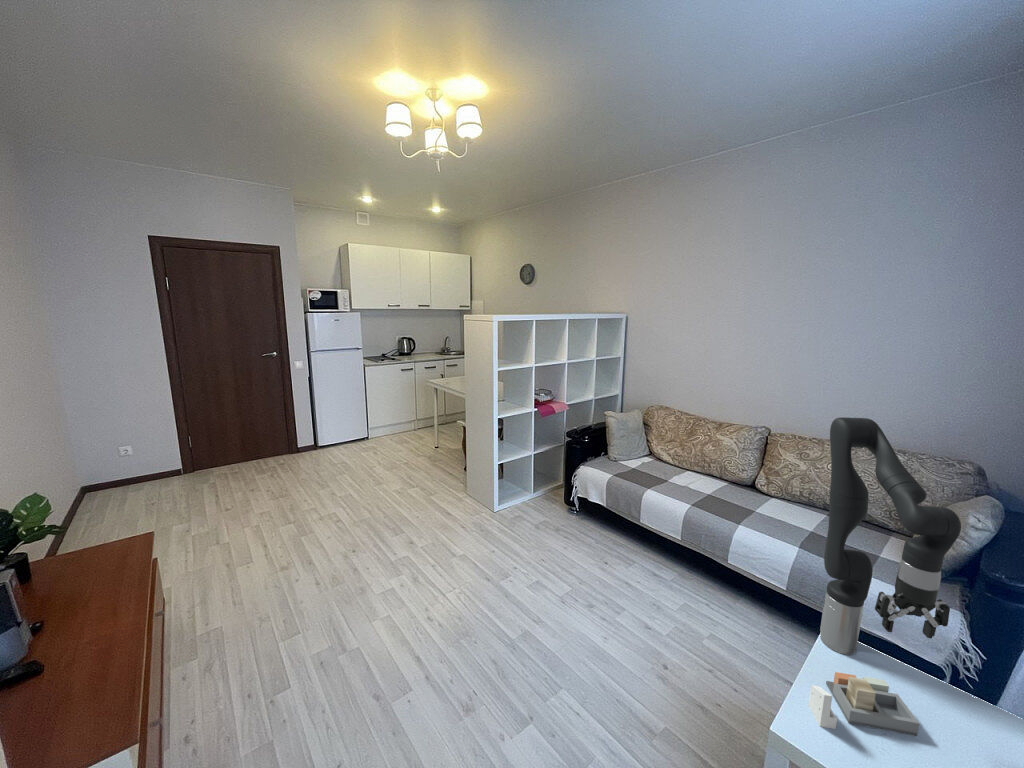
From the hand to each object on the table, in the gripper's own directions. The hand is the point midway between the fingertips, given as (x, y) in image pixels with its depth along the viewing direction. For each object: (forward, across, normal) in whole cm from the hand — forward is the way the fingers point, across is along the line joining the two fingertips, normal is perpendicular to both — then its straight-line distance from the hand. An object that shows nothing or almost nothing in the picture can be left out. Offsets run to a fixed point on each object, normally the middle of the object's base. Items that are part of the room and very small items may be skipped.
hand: (906, 632), depth 104 cm
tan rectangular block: (+23, +10, +4) cm, 25 cm away
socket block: (+24, +7, +2) cm, 25 cm away
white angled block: (+24, +20, +8) cm, 32 cm away
